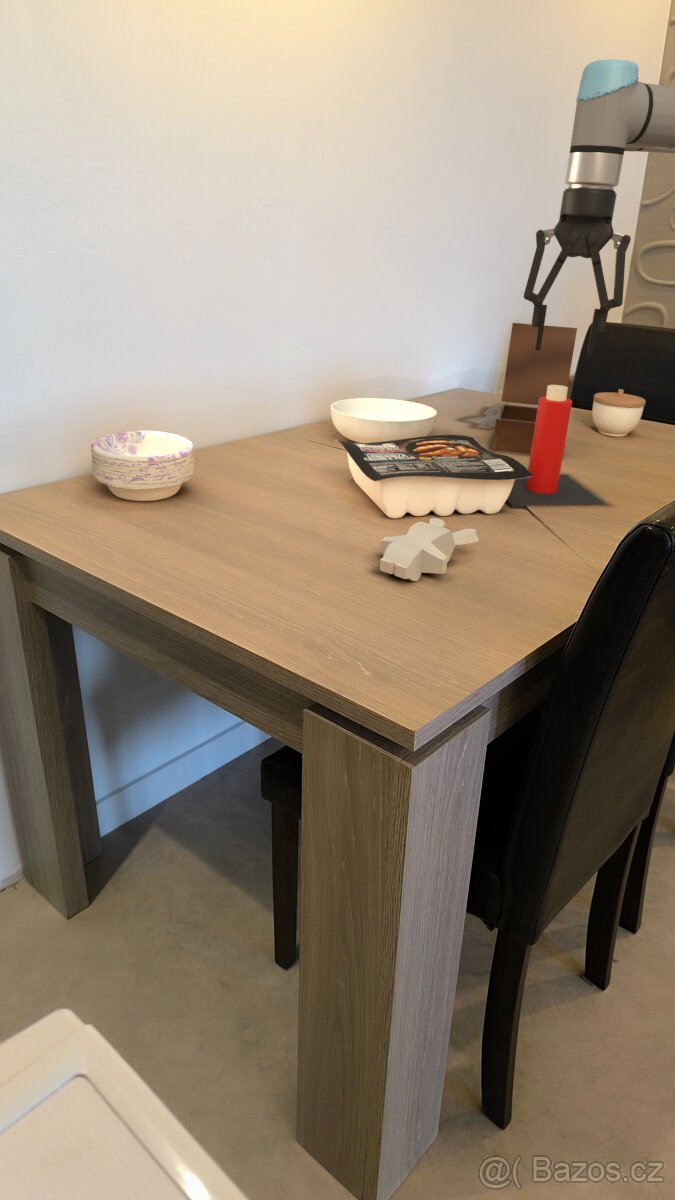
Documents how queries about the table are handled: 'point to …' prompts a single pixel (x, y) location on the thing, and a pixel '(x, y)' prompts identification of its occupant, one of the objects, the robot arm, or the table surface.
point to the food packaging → (433, 475)
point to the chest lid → (537, 362)
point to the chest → (514, 428)
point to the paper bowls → (142, 464)
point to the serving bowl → (382, 419)
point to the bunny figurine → (422, 549)
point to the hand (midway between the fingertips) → (563, 351)
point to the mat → (551, 495)
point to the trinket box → (616, 412)
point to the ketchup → (549, 440)
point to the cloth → (489, 416)
